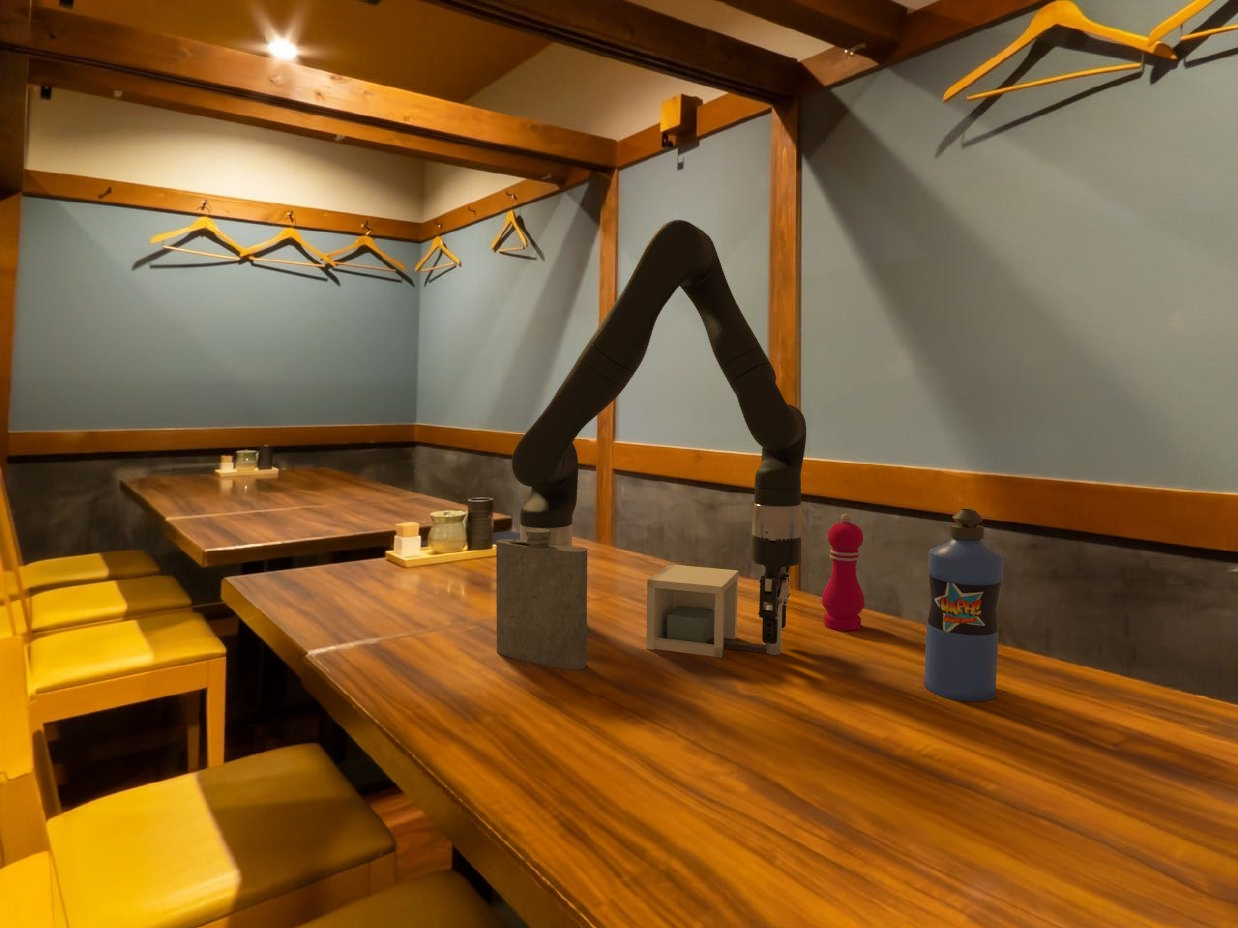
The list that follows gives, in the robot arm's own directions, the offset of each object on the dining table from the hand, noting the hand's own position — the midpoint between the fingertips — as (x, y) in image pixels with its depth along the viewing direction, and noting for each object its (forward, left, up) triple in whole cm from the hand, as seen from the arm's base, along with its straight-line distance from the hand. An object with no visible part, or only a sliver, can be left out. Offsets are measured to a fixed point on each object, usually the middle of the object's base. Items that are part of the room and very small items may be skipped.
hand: (774, 634), depth 120 cm
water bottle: (+26, -6, -3) cm, 27 cm away
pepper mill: (+9, +19, -3) cm, 21 cm away
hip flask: (-33, -17, -3) cm, 37 cm away
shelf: (-13, 0, -3) cm, 13 cm away
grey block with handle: (-8, 0, -3) cm, 8 cm away
